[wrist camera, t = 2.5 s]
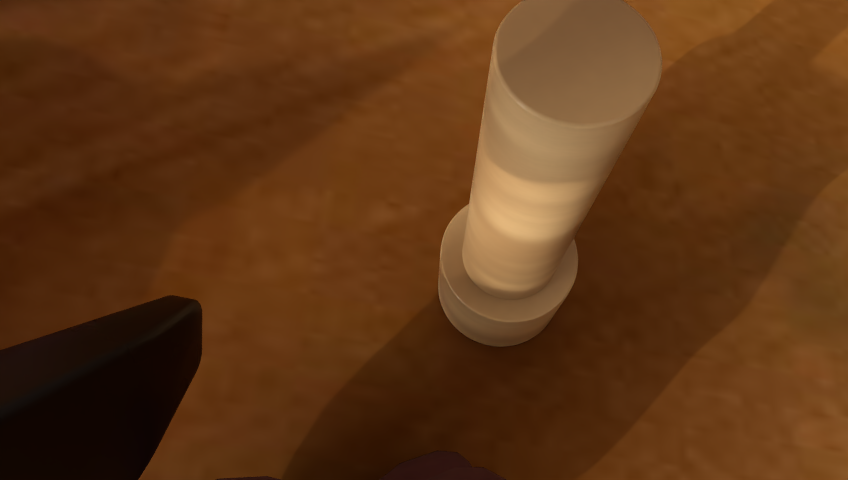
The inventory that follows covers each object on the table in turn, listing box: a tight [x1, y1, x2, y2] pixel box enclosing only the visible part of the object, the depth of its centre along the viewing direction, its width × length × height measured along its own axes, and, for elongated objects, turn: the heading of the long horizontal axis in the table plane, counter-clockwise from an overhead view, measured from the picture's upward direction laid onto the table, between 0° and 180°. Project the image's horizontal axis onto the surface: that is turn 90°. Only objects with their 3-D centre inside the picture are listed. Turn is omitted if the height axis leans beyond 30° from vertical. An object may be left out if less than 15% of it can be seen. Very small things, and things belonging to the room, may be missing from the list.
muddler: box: [438, 0, 662, 347], centre depth 16 cm, size 4×4×12 cm
